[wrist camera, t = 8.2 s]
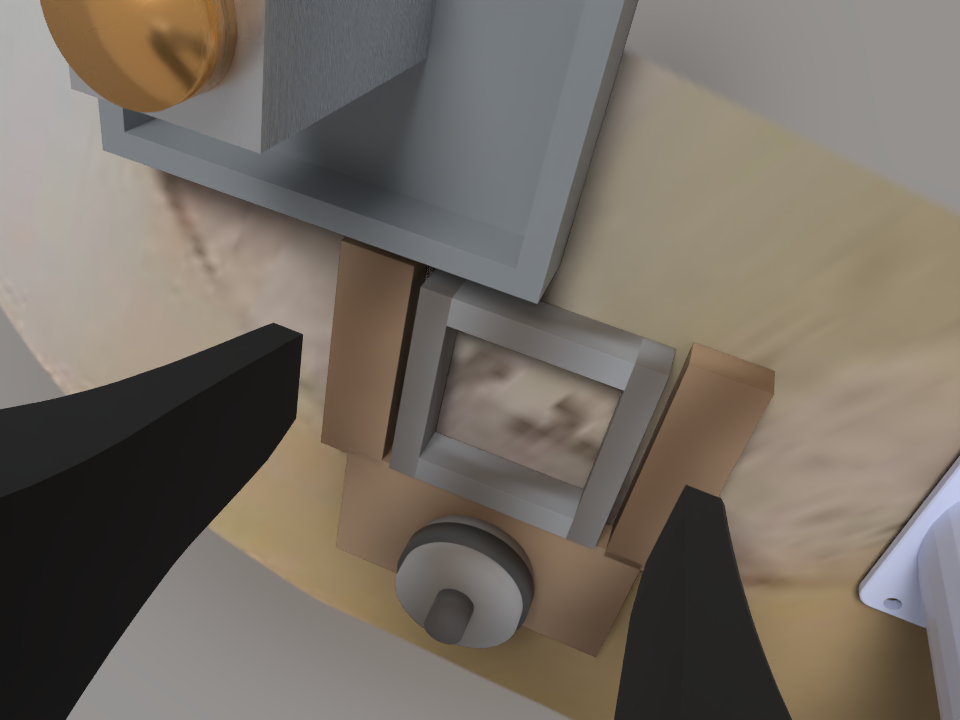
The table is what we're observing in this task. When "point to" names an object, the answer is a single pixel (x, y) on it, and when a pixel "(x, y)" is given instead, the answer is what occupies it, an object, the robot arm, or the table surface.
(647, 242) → the table surface
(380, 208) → the tray
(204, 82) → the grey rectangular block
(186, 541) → the robot arm
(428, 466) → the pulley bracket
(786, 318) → the table surface
